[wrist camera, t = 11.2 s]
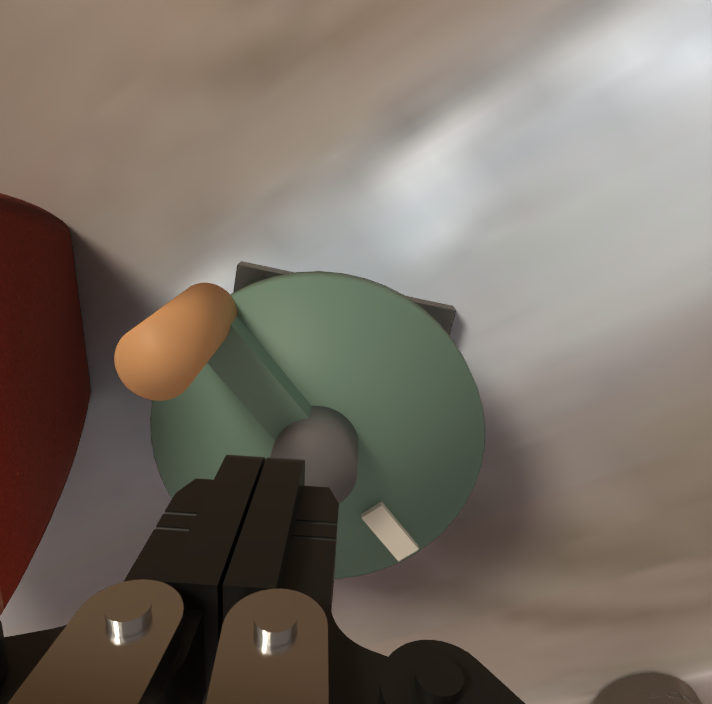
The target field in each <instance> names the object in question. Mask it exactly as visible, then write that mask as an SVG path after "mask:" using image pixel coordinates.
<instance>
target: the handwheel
mask: <svg viewBox="0 0 712 704" xmlns="http://www.w3.org/2000/svg"><path fill="white" fill-rule="evenodd" d="M114 361H115V368H116V371H117V373H118V375H119V377H120V379H121V381H122V382H123V383H124V384H125V386H126V387H127V388H128V389H129V390H131V391H132V392H133V393H135V394H137V395H138V396H141V397H143V398H146V399H149V400H152V409H151V418H150V421H151V441H152V446H153V452H154V458H155V461H156V464H157V467H158V470H159V473H160V476H161V478H162V480H163V482H164V484H165V486H166V489H167V491H168V493H169V495H170V496H171V498H173V497H174V495H175V493H176V492H178V491H179V490H180V489H182V488H183V487H184V486H186V485H187V484H189V483H190V482H191V481H193V480H194V479H196V478H197V479H212V480H214V478H215V476H216V474H217V472H218V470H219V468H220V466H221V464H222V462H223V460H224V458H225V456H226V455H242V456H256V457H265V459H266V458H267V457H273V458H287V459H302V460H305V485H304V486H316V487H329V488H330V489H331V491H332V493H333V495H334V496H335V498H336V500H337V501H338V503H339V511H338V526H337V542H336V557H335V572H334V579H339V578H346V577H354V576H359V575H363V574H367V573H372V572H376V571H378V570H381V569H384V568H387V567H389V566H392V565H395V564H397V563H399V562H401V561H403V560H404V559H406V558H408V557H410V556H412V555H414V554H415V553H417V552H418V551H420V550H421V549H423V548H424V547H426V546H427V545H429V544H430V543H431V542H432V541H433V540H434V539H436V538H437V537H438V536H439V535H440V534H441V533H442V532H443V531H444V530H445V529H446V528H447V527H448V526H449V525H450V524H451V522H452V521H453V520H454V519H455V518H456V517H457V515H458V514H459V512H460V511H461V509H462V508H463V506H464V505H465V503H466V502H467V500H468V498H469V496H470V494H471V492H472V490H473V488H474V486H475V483H476V480H477V477H478V474H479V471H480V468H481V463H482V458H483V452H484V443H485V424H484V415H483V407H482V403H481V400H480V396H479V392H478V388H477V386H476V384H475V381H474V379H473V377H472V374H471V372H470V370H469V368H468V365H467V363H466V361H465V359H464V357H463V356H462V354H461V352H460V351H459V349H458V347H457V346H456V344H455V343H454V341H453V339H452V338H451V337H450V336H449V334H448V333H447V332H446V331H445V330H444V328H443V327H442V326H441V325H440V324H439V323H438V322H437V321H436V320H435V319H434V318H433V317H432V316H431V315H430V314H429V313H428V312H427V311H425V310H424V309H423V308H422V307H420V306H419V305H418V304H416V303H415V302H413V301H412V300H410V299H409V298H407V297H406V296H404V295H402V294H400V293H399V292H397V291H395V290H393V289H391V288H389V287H387V286H385V285H382V284H379V283H376V282H374V281H371V280H368V279H365V278H361V277H357V276H352V275H348V274H343V273H333V272H322V271H315V272H296V273H290V274H284V275H279V276H274V277H271V278H268V279H264V280H261V281H258V282H255V283H252V284H250V285H248V286H246V287H244V288H242V289H240V290H238V291H236V292H234V293H232V294H231V295H230V294H229V293H228V292H227V291H226V290H224V289H223V288H221V287H219V286H217V285H215V284H211V283H199V284H195V285H193V286H191V287H189V288H188V289H186V290H185V291H184V292H182V293H181V294H179V295H178V296H177V297H175V298H174V299H173V300H171V301H170V302H168V303H167V304H166V305H164V306H163V307H162V308H160V309H159V310H158V311H156V312H155V313H153V314H152V315H151V316H149V317H148V318H147V319H145V320H144V321H142V322H141V323H140V324H138V325H137V326H136V327H134V328H133V329H131V330H130V331H129V332H127V333H126V334H125V335H124V336H123V337H122V338H121V339H120V341H119V343H118V344H117V347H116V350H115V356H114Z"/></svg>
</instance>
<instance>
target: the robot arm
mask: <svg viewBox="0 0 712 704" xmlns="http://www.w3.org/2000/svg"><path fill="white" fill-rule="evenodd" d="M304 485H305V460H302V459H287V458H273V457H267V458H266V459H265V457H256V456H242V455H226V456H225V458H224V460H223V462H222V464H221V466H220V468H219V470H218V472H217V474H216V476H215V478H214V480H212V479H197V478H196V479H194V480H193V481H191V482H190V483H189V484H187V485H186V486H184V487H183V488H182V489H180V490H179V491H178V492H176V493H175V495H174V497H173V498H172V500H171V502H170V503H169V505H168V507H167V509H166V510H165V514H163V515H162V517H161V519H160V521H159V522H158V524H157V526H156V530H154V531H153V533H152V534H151V536H150V538H149V539H148V541H147V543H146V544H145V546H144V548H143V550H142V551H141V553H140V555H139V556H138V558H137V560H136V562H135V563H134V565H133V567H132V568H131V570H130V572H129V573H128V575H127V577H126V579H125V580H124V582H122V583H118V584H115V585H112V586H110V587H107V588H105V589H104V590H102V591H100V592H98V593H97V594H95V595H94V596H92V597H91V598H90V599H88V600H87V601H86V602H85V603H84V604H83V605H82V606H81V607H80V608H79V610H78V611H77V612H76V614H75V615H74V616H73V618H72V619H71V620H70V622H69V623H68V624H67V625H65V626H62V627H58V628H53V629H48V630H43V631H37V632H32V633H26V634H21V635H15V636H10V637H4V635H3V629H2V623H1V621H0V704H525V703H524V702H523V701H522V700H521V699H520V698H518V697H517V696H516V695H515V694H514V693H513V692H512V691H511V690H510V689H509V688H507V687H506V686H505V685H504V684H503V683H502V682H501V681H500V680H499V679H498V678H497V677H495V676H494V675H493V674H492V673H491V672H490V671H489V670H488V669H487V668H486V667H484V666H483V665H482V664H481V663H480V662H479V661H478V660H477V659H476V658H474V657H473V656H472V655H471V654H469V653H468V652H466V651H464V650H463V649H461V648H459V647H457V646H455V645H452V644H449V643H446V642H442V641H436V640H419V641H413V642H410V643H407V644H405V645H403V646H400V647H399V648H398V649H396V650H395V651H393V652H392V654H391V655H390V656H389V657H387V656H384V655H382V654H379V653H376V652H373V651H371V650H368V649H366V648H364V647H361V646H360V645H358V644H356V643H355V642H353V641H352V640H350V639H349V638H348V637H347V636H346V635H345V634H344V633H343V632H342V631H341V630H340V629H339V627H338V626H337V624H336V623H335V621H334V618H333V616H332V612H331V609H332V597H333V584H334V572H335V557H336V542H337V526H338V511H339V503H338V501H337V500H336V498H335V496H334V495H333V493H332V491H331V489H330V488H329V487H316V486H304ZM593 704H702V703H701V701H700V700H699V698H698V697H697V695H696V694H695V692H694V691H693V689H692V688H691V687H690V686H689V685H687V684H686V683H685V682H683V681H681V680H679V679H677V678H675V677H672V676H668V675H664V674H654V673H652V674H640V675H635V676H631V677H628V678H625V679H622V680H620V681H618V682H616V683H614V684H613V685H611V686H609V687H608V688H607V689H605V690H604V691H603V692H602V693H601V694H600V695H599V696H598V697H597V699H596V700H595V701H594V703H593Z"/></svg>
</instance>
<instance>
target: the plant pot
mask: <svg viewBox="0 0 712 704" xmlns="http://www.w3.org/2000/svg"><path fill="white" fill-rule="evenodd" d="M90 393H91V388H90V379H89V372H88V365H87V358H86V350H85V342H84V334H83V326H82V318H81V311H80V303H79V296H78V288H77V281H76V273H75V265H74V257H73V249H72V242H71V235H70V232H69V228H68V227H67V225H66V224H65V223H64V222H63V221H62V220H60V219H59V218H57V217H56V216H54V215H53V214H51V213H50V212H48V211H46V210H44V209H42V208H40V207H38V206H35V205H33V204H31V203H28V202H26V201H23V200H20V199H17V198H14V197H11V196H8V195H4V194H1V193H0V615H1V614H2V612H3V610H4V609H5V607H6V605H7V603H8V602H9V600H10V598H11V597H12V595H13V593H14V591H15V590H16V588H17V586H18V585H19V583H20V581H21V579H22V577H23V575H24V573H25V571H26V569H27V567H28V565H29V563H30V561H31V559H32V557H33V555H34V553H35V551H36V549H37V547H38V545H39V543H40V541H41V539H42V537H43V535H44V532H45V530H46V528H47V526H48V524H49V522H50V519H51V517H52V515H53V512H54V510H55V507H56V505H57V503H58V500H59V498H60V496H61V493H62V491H63V488H64V486H65V483H66V481H67V478H68V475H69V473H70V470H71V467H72V464H73V461H74V458H75V455H76V451H77V448H78V445H79V441H80V438H81V434H82V431H83V427H84V423H85V418H86V414H87V409H88V404H89V399H90Z"/></svg>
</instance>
